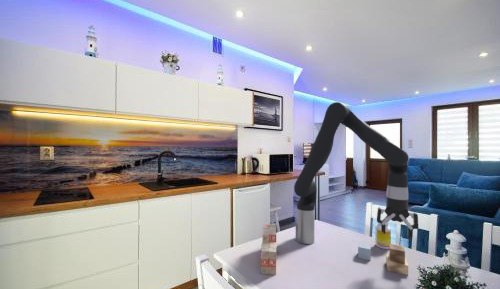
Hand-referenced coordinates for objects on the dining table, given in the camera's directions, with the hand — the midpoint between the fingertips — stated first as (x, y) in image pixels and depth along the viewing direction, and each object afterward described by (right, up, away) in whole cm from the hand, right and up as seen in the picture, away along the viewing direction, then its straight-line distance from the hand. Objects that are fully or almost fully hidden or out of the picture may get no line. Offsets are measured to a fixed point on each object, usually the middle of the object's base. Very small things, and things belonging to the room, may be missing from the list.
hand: (396, 235), depth 90 cm
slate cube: (-9, -14, +9) cm, 18 cm away
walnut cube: (0, -10, 0) cm, 10 cm away
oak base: (0, -14, 0) cm, 14 cm away
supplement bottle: (+6, -14, +19) cm, 25 cm away
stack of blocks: (-53, -14, +6) cm, 55 cm away
